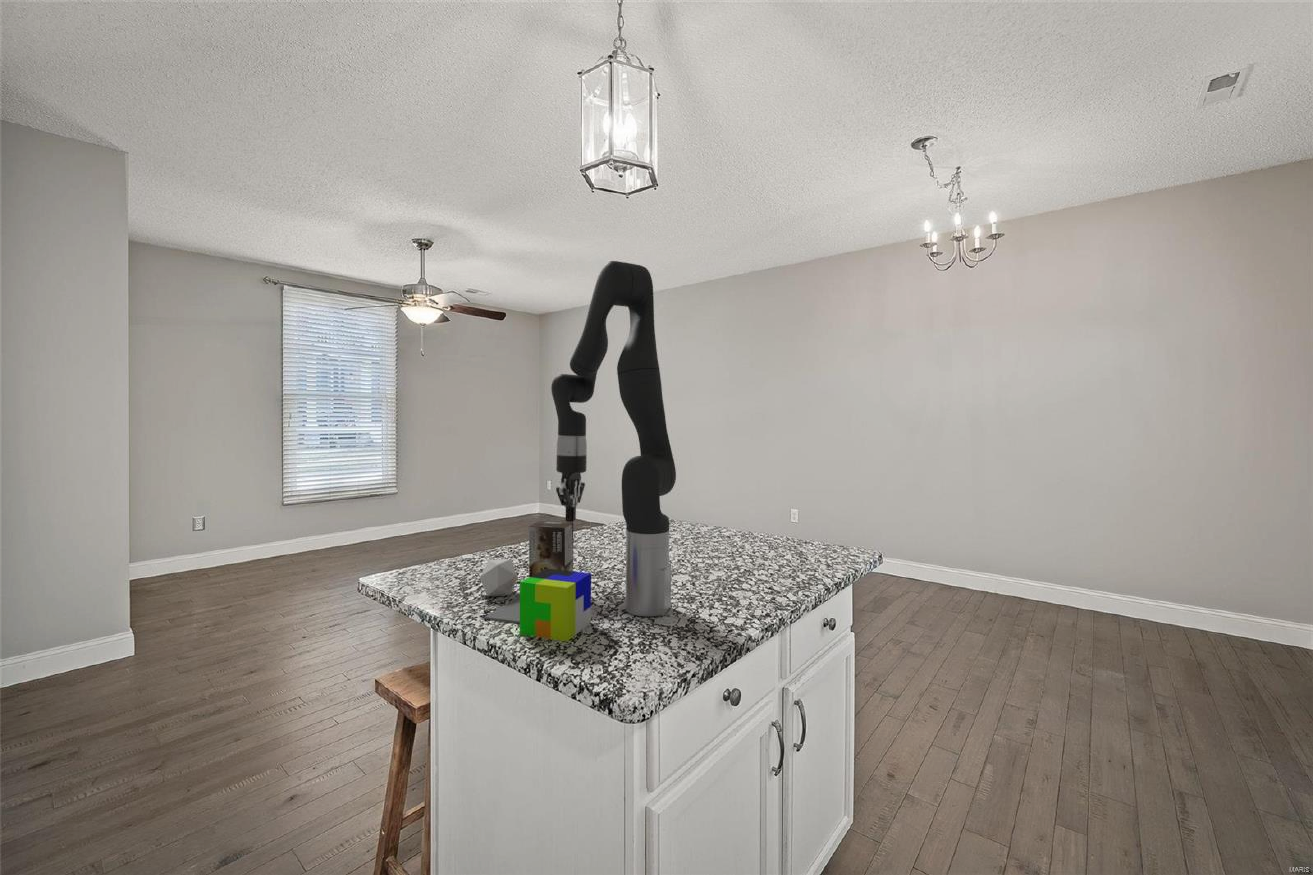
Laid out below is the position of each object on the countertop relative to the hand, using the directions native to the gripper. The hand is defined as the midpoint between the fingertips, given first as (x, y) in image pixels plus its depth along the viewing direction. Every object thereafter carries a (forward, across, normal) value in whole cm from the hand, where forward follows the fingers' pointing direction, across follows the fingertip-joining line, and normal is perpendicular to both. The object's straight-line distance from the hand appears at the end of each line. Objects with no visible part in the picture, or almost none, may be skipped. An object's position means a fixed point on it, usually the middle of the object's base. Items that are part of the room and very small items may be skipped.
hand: (570, 521), depth 137 cm
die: (+15, -16, +10) cm, 24 cm away
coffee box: (+15, -11, 0) cm, 19 cm away
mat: (+15, -23, 0) cm, 27 cm away
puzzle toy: (+15, -31, -11) cm, 36 cm away
